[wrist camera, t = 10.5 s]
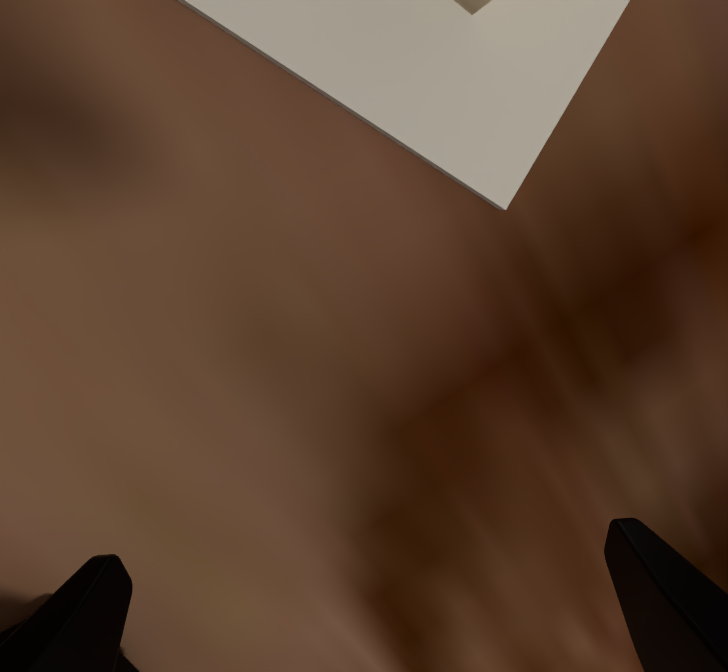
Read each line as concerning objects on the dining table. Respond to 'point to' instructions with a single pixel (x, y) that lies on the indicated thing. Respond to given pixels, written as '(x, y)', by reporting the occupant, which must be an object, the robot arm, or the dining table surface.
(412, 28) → the tile
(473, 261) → the dining table surface
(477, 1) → the wooden block
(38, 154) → the dining table surface
